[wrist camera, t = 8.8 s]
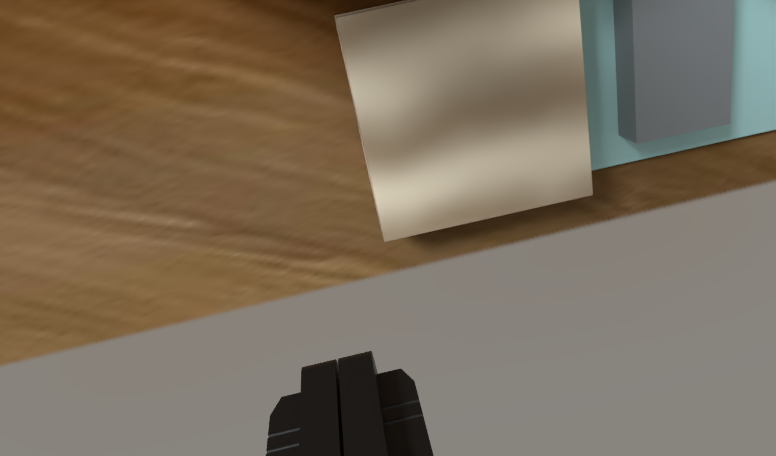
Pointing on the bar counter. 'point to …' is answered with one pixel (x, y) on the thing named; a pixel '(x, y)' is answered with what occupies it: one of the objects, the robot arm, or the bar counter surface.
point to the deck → (468, 108)
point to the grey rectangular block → (672, 66)
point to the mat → (748, 116)
